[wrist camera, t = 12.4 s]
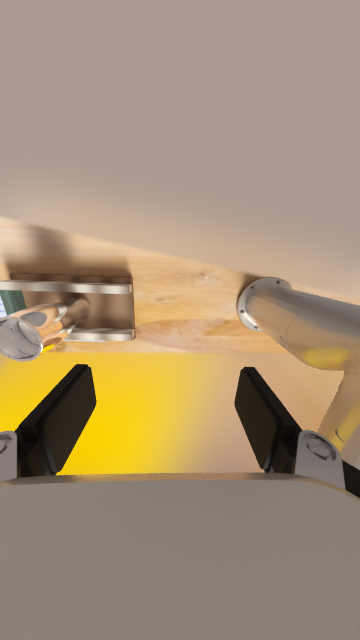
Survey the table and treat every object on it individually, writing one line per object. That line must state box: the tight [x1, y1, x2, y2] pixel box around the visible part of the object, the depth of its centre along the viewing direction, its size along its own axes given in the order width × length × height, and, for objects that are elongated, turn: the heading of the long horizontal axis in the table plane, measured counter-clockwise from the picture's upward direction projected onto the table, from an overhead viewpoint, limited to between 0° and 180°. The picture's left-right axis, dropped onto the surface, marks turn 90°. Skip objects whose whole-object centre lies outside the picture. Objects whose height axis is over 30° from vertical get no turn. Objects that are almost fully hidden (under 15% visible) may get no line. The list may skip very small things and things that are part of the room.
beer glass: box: [0, 295, 92, 361], centre depth 29 cm, size 7×7×15 cm
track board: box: [0, 273, 136, 341], centre depth 35 cm, size 24×14×4 cm, turn 88°
